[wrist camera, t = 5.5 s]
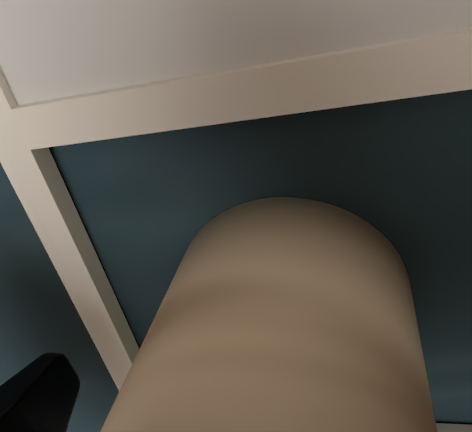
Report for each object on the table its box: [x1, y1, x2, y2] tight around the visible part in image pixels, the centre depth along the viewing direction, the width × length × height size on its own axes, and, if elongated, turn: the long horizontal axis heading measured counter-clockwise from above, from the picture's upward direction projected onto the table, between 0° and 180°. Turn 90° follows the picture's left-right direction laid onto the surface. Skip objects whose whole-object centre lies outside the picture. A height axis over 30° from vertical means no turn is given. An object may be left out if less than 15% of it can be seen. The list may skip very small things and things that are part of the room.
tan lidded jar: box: [100, 197, 437, 432], centre depth 7 cm, size 5×5×6 cm
